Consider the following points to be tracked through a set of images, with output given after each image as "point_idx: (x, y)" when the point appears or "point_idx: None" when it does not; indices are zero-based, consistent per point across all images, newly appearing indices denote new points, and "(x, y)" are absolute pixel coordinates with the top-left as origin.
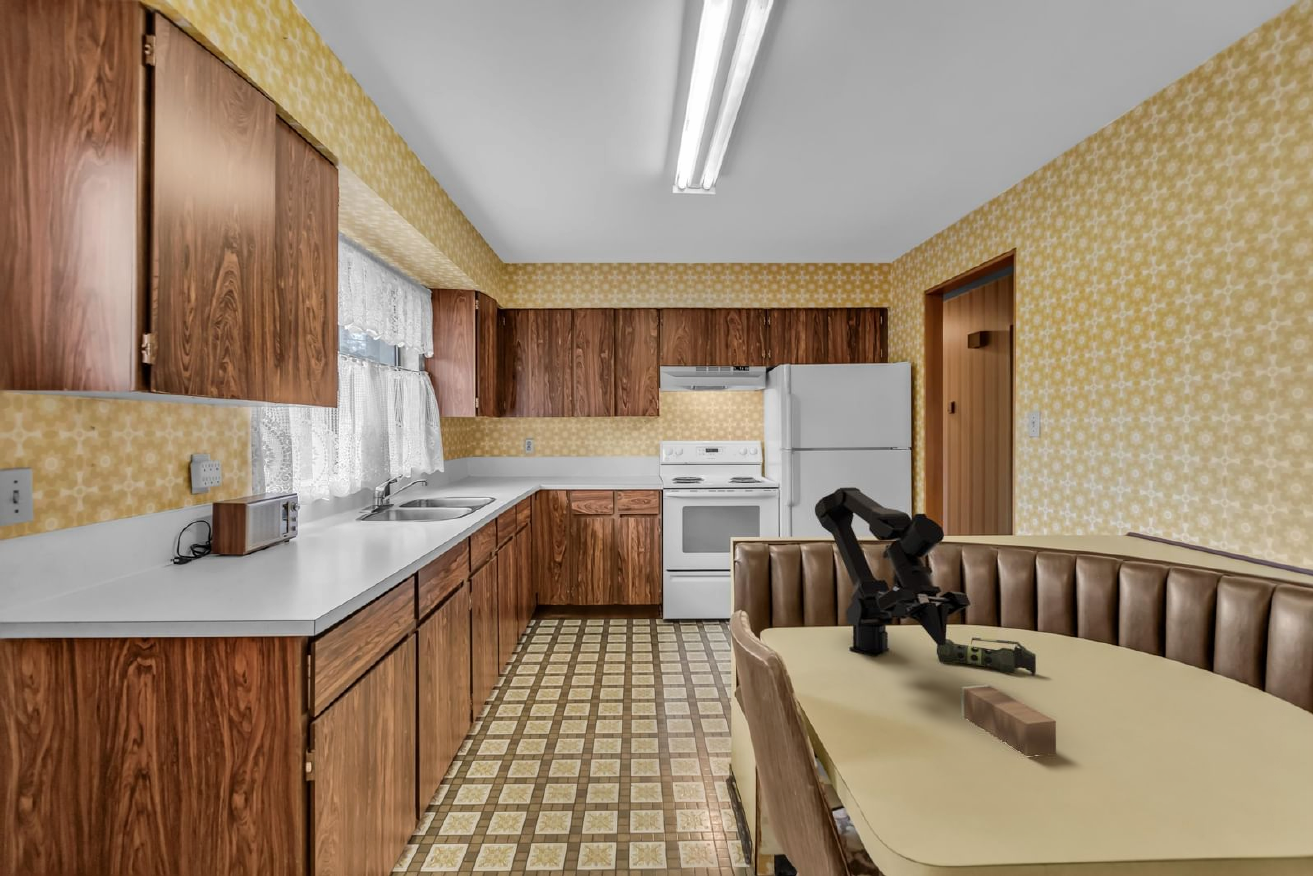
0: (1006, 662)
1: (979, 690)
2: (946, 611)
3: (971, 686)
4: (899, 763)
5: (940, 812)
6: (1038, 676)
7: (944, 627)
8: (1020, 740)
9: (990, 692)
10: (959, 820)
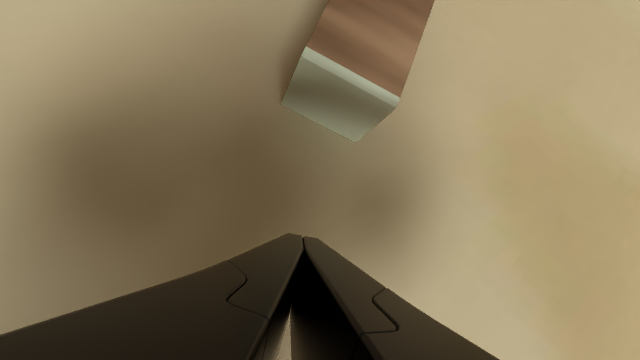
0: None
1: (374, 56)
2: (119, 322)
3: (364, 86)
4: (610, 130)
5: (636, 35)
6: None
7: (268, 260)
8: None
9: (359, 27)
10: (627, 14)
